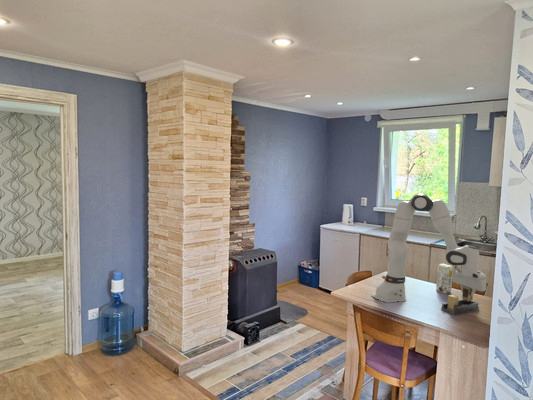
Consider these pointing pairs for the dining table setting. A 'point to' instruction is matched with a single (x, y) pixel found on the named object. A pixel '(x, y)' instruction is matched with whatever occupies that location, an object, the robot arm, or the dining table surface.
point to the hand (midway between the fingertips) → (467, 293)
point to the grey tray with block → (459, 305)
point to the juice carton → (444, 278)
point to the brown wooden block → (467, 293)
